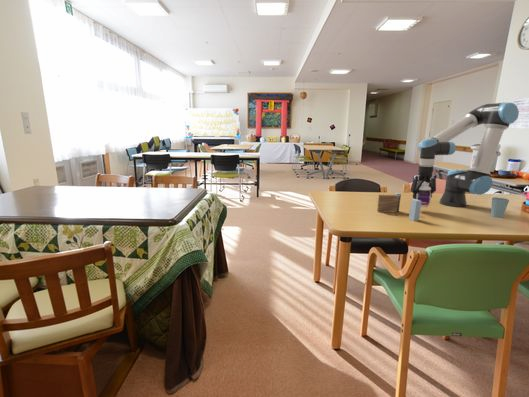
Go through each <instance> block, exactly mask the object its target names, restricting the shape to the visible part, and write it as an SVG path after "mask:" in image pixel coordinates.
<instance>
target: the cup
mask: <svg viewBox="0 0 529 397" xmlns="http://www.w3.org/2000/svg"><path fill="white" fill-rule="evenodd" d="M509 202H510V199H508V198H505V197H504V198H503V197H496V196H495V197H494V196H493V197H491V210H490V216H491V217H494V218H498V219H499V218H501V219H502V218H504V216H505V215H504V214H505V213H506V210H507V207H508V204H509Z"/></svg>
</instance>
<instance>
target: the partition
mask: <svg viewBox="0 0 529 397" xmlns="http://www.w3.org/2000/svg"><path fill="white" fill-rule="evenodd" d="M393 195H401V196H402V193H401V192H394V193H393ZM421 202H422V201H420V200H417V199H414V198H412V199H411V202H410V208H409V216H408V219H409V220H411V221H413V222H419V220H420V216H421V215H420V214H421V208H422V207H421Z"/></svg>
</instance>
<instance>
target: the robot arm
mask: <svg viewBox="0 0 529 397" xmlns="http://www.w3.org/2000/svg"><path fill="white" fill-rule="evenodd" d="M519 113H520V112H519V108H518V106H517V105H516V104H515V103H514V102H506V101H505V102H497V103H485V104H483V105H480V106H478V107H476V108H474V109H472V110H471V111H469V112H468V113H466V114H464V116H463V118H461V119H460V120H458V121H457V122H455V123H453V124H451V125H450V126H448V127H446V128H445V129H444V130H441V132H439V133H437V134H435V135H434V136H432V137H431V138H424V139H422V140H421V141H420V142H419V143H418V145H417V149H418V151H419V152H420V155H419V156H420V157H419V163H418V165H419V166H418V174H417V175H413V176H412V183H411V186H410V190H409V192H410V193H412V199H417V200H418V193H417V192H418V190H419V188H420V187H421V185H422V183H423V182H428V183H429V187H430V188H431V193H430V201H429V205H430V204H431V202H432V200H431V199H432V198H433V194H434V193H435V192H436V191H437V177H438V176H437V175H436V174H432V173H434V165H435V160H436V159H435V158H436V156H450V155H454V153H455V152H456V149H457V145H456V143H455V142H454V141H453V142H452V140H453V139H455V138H457V137H458V136H460V135H461V134H463V133H465V132H467V131H468V130H470V129H471V128H473V129H474V128H476V127H477V126H480V125H483V126H484V128H485V130H484V133H483V135H482V139H481V141H480V144H479V146H478V150H477V153H476V155H475V157H474V162H473V164H472V166H471V168H468V169H450V170H448V172H447V175H446V179H445V186H444V191H443V193H442V196H441V197H440V198H439V204H442V205H445V206H448V207H454V208H455V207H456V208H464V207H467V203H468V202H467V199H466V193H469V194H473V195H477V196H478V195H481V196H482V195H485V194H486V193H487V192H489V191H490V190H491V188H492V187H493V184H494V183H493V178H492V177H491V171H490V168H491V166H492V163H493V161H494V158H495V155H496V152H497V151H498V147H499V145H500V141H501V140H502V136H503V134H504V132H505V131H506V130H507V129H509V127H510V125H511V124H513V123H515V122H516V121H517V120H518V118H519V115H520V114H519Z"/></svg>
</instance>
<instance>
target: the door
mask: <svg viewBox="0 0 529 397" xmlns="http://www.w3.org/2000/svg"><path fill="white" fill-rule="evenodd" d="M401 196H402V194H401V195H394V194H378V199H377V207H376V208H377V209H376V211H377V212H379V213H381V212H382V213H383V212H387V213H399V211H400V205H401Z"/></svg>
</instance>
